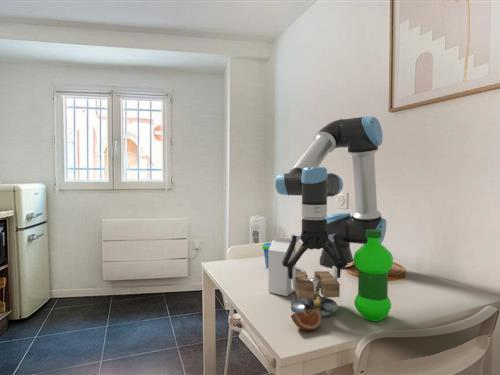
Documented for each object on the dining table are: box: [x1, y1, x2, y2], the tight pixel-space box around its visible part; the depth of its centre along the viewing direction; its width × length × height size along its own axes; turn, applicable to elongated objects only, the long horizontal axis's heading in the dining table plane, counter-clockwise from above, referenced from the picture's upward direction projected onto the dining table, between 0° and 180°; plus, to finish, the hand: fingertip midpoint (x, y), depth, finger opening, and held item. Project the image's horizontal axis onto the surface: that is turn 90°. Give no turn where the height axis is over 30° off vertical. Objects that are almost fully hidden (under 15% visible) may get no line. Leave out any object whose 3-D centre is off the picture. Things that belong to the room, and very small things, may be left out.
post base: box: [290, 277, 338, 319], centre depth 102 cm, size 14×14×9 cm
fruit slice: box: [290, 308, 323, 332], centre depth 89 cm, size 8×7×5 cm
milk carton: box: [267, 236, 297, 297], centre depth 117 cm, size 7×7×19 cm
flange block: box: [294, 270, 341, 298], centre depth 102 cm, size 12×12×4 cm
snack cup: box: [261, 241, 272, 268], centre depth 147 cm, size 16×10×10 cm
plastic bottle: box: [353, 229, 394, 322], centre depth 95 cm, size 10×10×25 cm
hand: (314, 288), depth 102 cm, fingers closed on flange block, 12 cm apart
